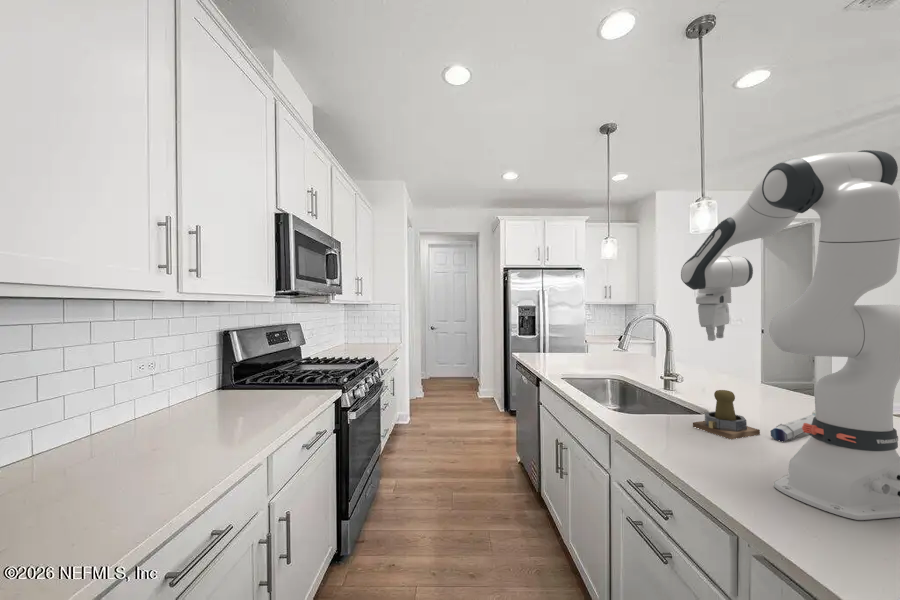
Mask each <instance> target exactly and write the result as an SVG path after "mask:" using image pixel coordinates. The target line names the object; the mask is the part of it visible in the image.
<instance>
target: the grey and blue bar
mask: <svg viewBox="0 0 900 600" xmlns="http://www.w3.org/2000/svg"><path fill="white" fill-rule="evenodd" d="M814 417H815V410H813V411H812V413H811V414H810V415H807V416H805V417H801V418H799V419H795V420H793V421H790V422H786V423H780V424H778V425H776V426H775V427H774V428H773V429H771V430H770V437H771V438H772V439H773V440H775V439H776V440H775V441H778V440H780V441H779V442H782V441H783V442H782V443H784V442H786V441H791V440H793V439H796V436H799V435H800V434H802V433H804V432H803V430H802V426H803V424H804V423H808V424H810V425H811V423H812V421H813V418H814ZM788 439H789V440H788Z"/></svg>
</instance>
